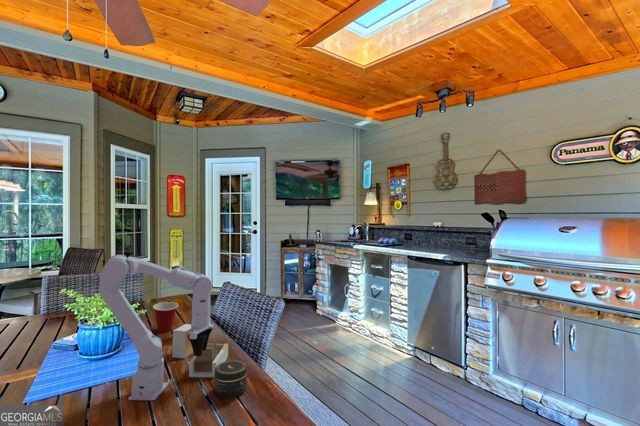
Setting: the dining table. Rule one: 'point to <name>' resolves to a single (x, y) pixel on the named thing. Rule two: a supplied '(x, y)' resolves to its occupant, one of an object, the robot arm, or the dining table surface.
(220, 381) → the jar
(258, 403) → the dining table surface
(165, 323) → the plastic cup
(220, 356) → the grey chute
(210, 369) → the walnut block
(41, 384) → the dining table surface
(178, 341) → the small box
